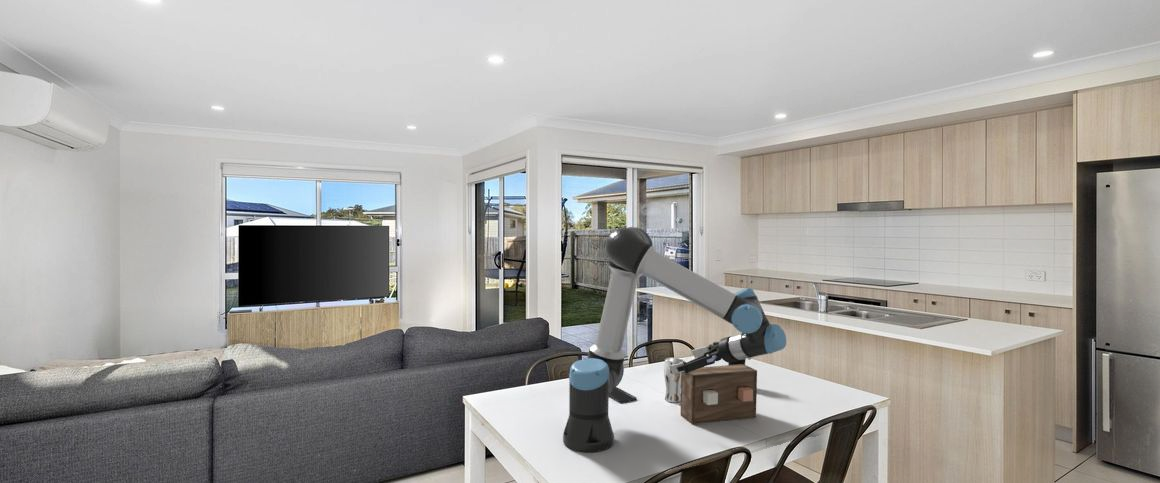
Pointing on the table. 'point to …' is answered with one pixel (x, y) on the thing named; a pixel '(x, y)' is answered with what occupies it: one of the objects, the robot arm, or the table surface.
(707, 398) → the oat key
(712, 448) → the table surface
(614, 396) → the phone
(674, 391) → the beer glass
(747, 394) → the terracotta key
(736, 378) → the key box
